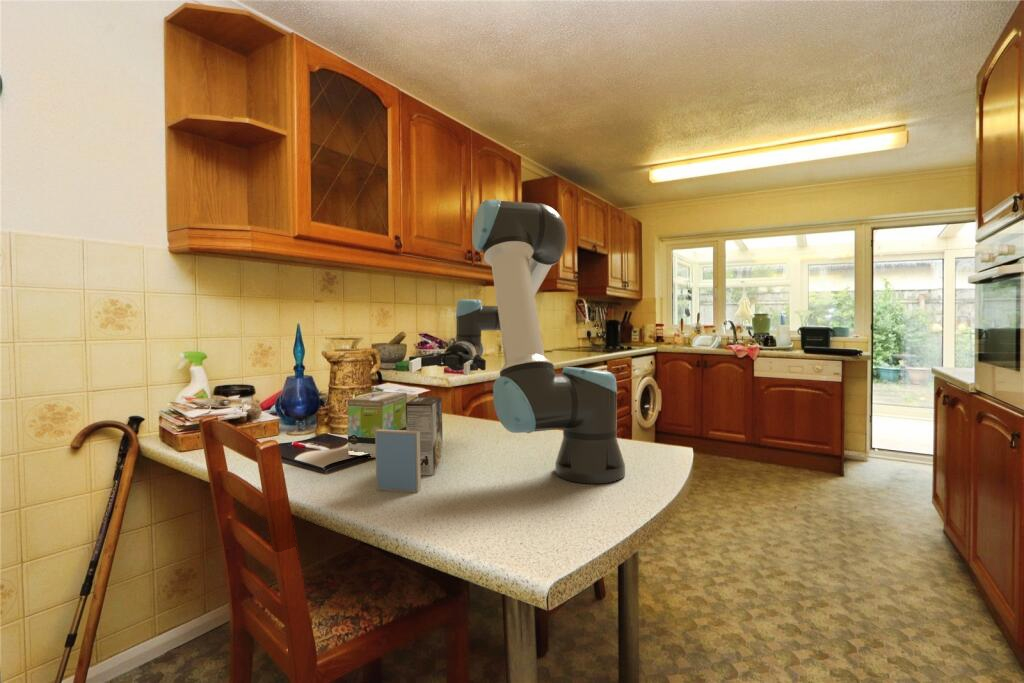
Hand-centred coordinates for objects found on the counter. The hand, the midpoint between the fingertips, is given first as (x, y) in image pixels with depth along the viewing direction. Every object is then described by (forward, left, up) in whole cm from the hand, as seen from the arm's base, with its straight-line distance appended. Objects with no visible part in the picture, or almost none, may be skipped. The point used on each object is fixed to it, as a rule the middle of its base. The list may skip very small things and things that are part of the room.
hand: (437, 368), depth 117 cm
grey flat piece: (+1, +21, -23) cm, 31 cm away
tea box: (+20, -7, -23) cm, 31 cm away
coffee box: (+1, +7, -23) cm, 24 cm away
